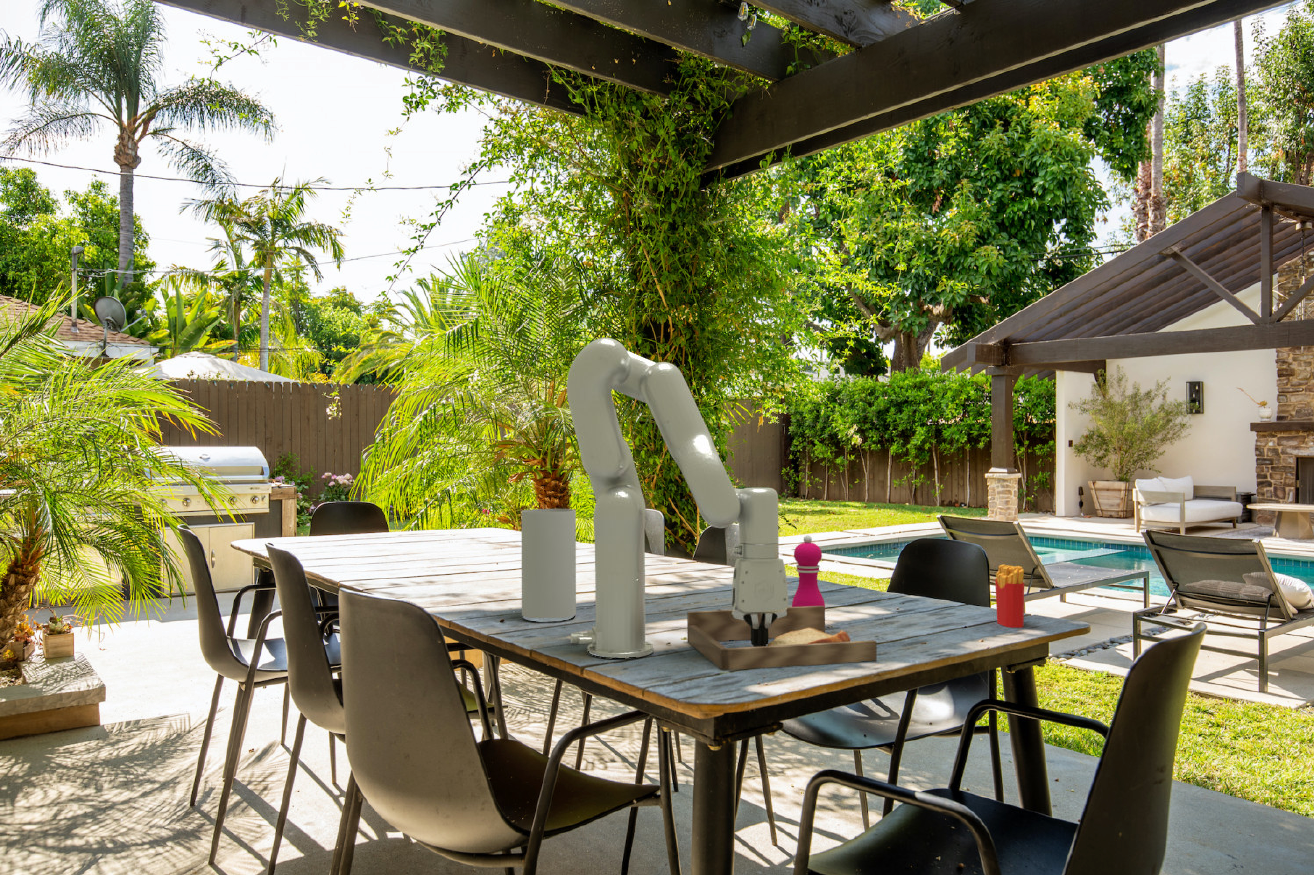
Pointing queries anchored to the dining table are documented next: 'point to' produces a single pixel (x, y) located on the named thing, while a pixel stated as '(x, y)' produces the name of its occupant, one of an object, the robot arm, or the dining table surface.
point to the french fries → (1010, 596)
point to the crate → (724, 627)
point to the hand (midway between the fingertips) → (759, 648)
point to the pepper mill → (807, 574)
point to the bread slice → (809, 637)
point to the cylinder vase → (548, 563)
